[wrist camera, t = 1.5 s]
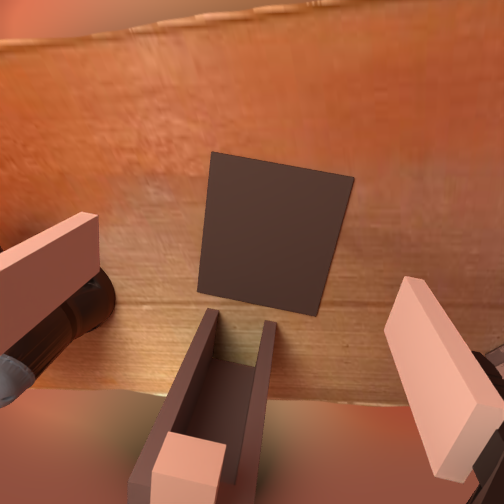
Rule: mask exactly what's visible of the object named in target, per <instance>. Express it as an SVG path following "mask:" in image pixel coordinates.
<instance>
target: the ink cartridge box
mask: <svg viewBox="0 0 504 504" xmlns="http://www.w3.org/2000/svg"><path fill="white" fill-rule="evenodd" d="M485 356H486V358H487V359H488V360H489V361H490V362H491V363H492V364H494V366H495V367H496V369H497V370H498V371H499V373H500V374H501V376H502V379H504V345H502V346H500V347H498V348H496V349H494V350H493V351H491V352H489V353H487V354H485Z"/></svg>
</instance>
